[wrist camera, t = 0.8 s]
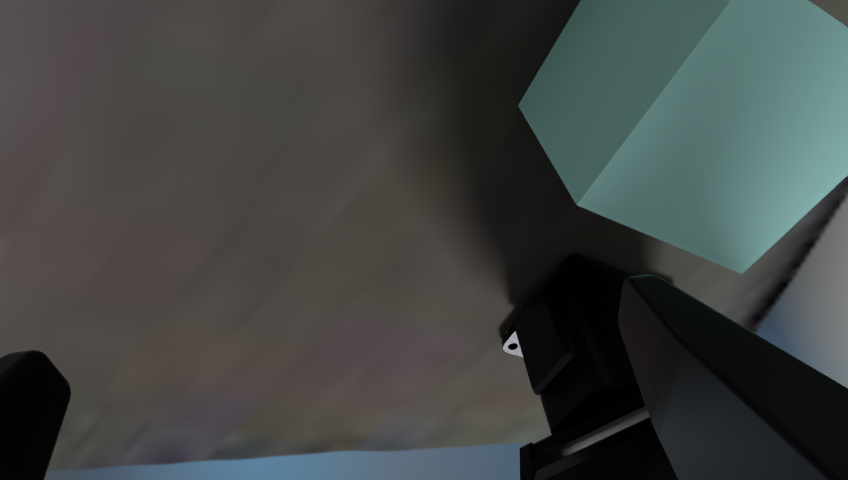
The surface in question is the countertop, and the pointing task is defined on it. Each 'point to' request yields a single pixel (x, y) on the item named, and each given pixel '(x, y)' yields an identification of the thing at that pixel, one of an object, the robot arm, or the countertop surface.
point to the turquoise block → (697, 118)
